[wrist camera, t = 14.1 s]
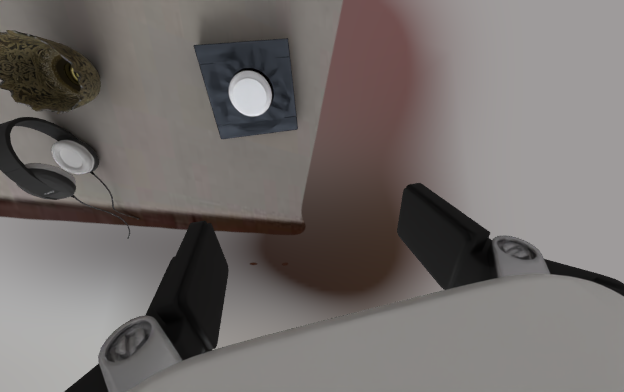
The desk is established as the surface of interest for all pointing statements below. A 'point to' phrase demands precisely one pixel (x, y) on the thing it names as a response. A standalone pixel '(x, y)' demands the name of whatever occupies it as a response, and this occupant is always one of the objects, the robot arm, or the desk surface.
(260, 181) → the desk surface
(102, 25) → the desk surface
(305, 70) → the desk surface
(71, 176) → the headphones
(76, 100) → the green rounded lump
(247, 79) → the pill bottle
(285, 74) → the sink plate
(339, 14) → the desk surface
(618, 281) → the robot arm
